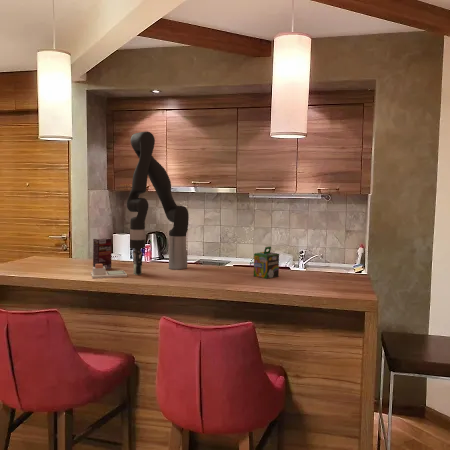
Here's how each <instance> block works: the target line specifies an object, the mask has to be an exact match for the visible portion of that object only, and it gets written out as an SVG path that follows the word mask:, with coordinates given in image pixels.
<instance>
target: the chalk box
mask: <svg viewBox="0 0 450 450" xmlns="http://www.w3.org/2000/svg"><path fill="white" fill-rule="evenodd" d="M267 250H268V251H267ZM271 250H272V246H266V247H264V250H263V251H260V252H255V253H253V277H256V278H262V279H266V280H268V279H272V278H276V277H277V278H278V277H279V274H280V273H279V272H280V270H279V268H280V266H279V265H280V253H277V252H271Z"/></svg>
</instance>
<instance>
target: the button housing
mask: <svg viewBox="0 0 450 450" xmlns="http://www.w3.org/2000/svg"><path fill="white" fill-rule="evenodd" d="M106 271H107V269H106V268H105V266H103V268H95V267H93V266H92V272H93V275H106Z"/></svg>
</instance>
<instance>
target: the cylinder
mask: <svg viewBox="0 0 450 450" xmlns="http://www.w3.org/2000/svg"><path fill="white" fill-rule="evenodd" d="M138 263H140V262H138ZM142 268H143V264H142V265H141V274H136V262H133V275H134V274H135V275H136V276H139V275H140V276H141V275H142V273H143V269H142Z"/></svg>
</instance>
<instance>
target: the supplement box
mask: <svg viewBox="0 0 450 450" xmlns="http://www.w3.org/2000/svg"><path fill="white" fill-rule="evenodd" d="M112 240H113V239H112V238H111V237H102V238H101V237H100V238H93V240H92V241H93V242H92V243H93V244H92V246H93V247H92V248H93V249H92V254H93V255H92V256H93V257H92V268H93V267H95V264H103V266H105V268H106V270H110V269H112Z"/></svg>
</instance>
